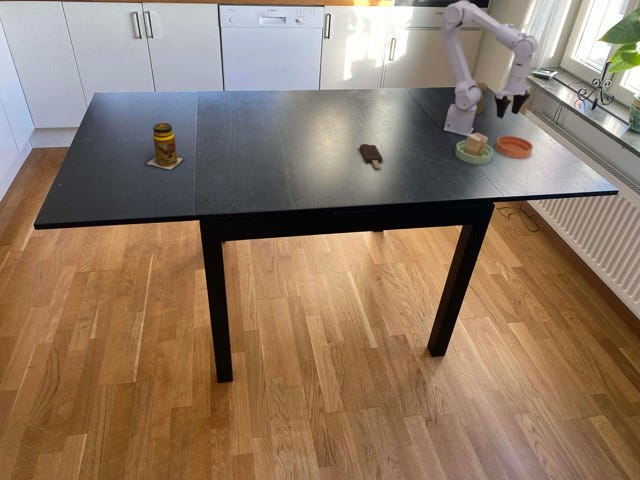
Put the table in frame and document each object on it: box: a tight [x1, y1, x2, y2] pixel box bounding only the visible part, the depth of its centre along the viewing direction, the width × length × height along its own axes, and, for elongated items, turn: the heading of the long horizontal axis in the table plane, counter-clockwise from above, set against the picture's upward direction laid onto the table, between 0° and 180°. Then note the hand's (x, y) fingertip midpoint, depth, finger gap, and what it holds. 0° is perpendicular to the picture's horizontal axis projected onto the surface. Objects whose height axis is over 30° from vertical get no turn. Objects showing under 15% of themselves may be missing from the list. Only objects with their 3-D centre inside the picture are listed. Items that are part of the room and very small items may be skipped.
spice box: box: [464, 132, 489, 157], centre depth 168 cm, size 5×5×7 cm
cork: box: [475, 82, 489, 115], centre depth 199 cm, size 6×6×11 cm
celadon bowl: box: [454, 140, 494, 165], centre depth 169 cm, size 12×12×3 cm
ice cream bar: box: [359, 143, 383, 170], centre depth 164 cm, size 5×2×15 cm
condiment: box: [146, 122, 184, 170], centre depth 151 cm, size 7×8×12 cm
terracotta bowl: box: [494, 135, 534, 160], centre depth 174 cm, size 12×12×3 cm
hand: (507, 115), depth 173 cm, fingers open, 7 cm apart
